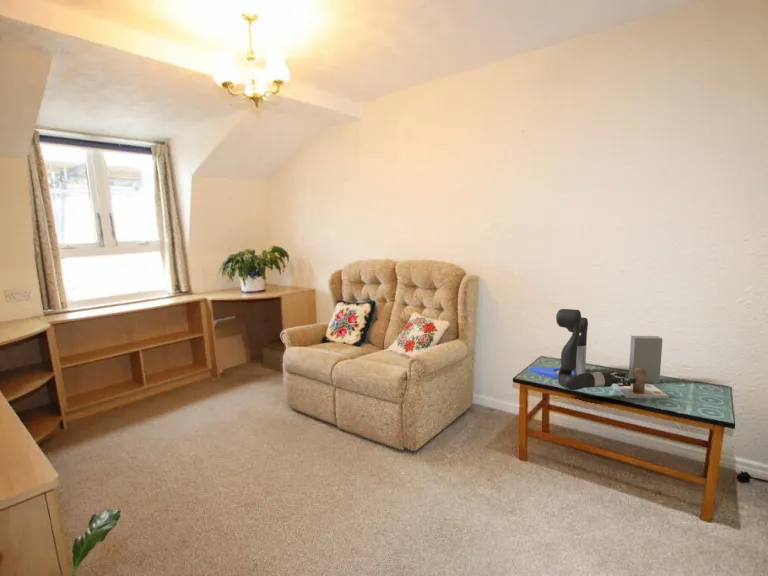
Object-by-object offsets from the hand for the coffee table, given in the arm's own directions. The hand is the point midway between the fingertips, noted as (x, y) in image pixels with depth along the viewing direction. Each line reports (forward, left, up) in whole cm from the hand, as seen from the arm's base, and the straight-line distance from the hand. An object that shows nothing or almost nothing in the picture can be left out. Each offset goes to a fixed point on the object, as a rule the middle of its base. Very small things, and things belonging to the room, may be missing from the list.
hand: (630, 377), depth 208 cm
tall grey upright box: (-21, +17, -10) cm, 29 cm away
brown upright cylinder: (-1, +5, -8) cm, 9 cm away
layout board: (-5, +7, -9) cm, 13 cm away
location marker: (-31, -29, -10) cm, 43 cm away
